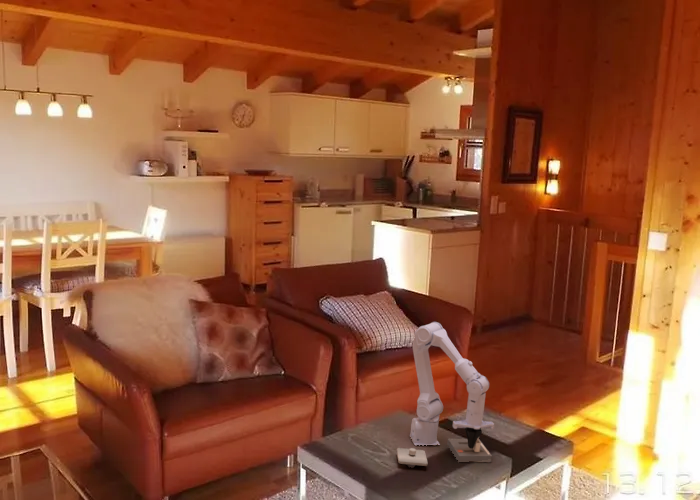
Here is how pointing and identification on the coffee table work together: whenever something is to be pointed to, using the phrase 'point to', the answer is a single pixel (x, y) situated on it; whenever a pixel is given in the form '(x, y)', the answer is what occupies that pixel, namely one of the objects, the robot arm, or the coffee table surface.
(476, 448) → the breaker
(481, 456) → the grey flat block
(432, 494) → the coffee table surface
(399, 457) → the light switch
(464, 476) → the coffee table surface
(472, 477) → the coffee table surface
